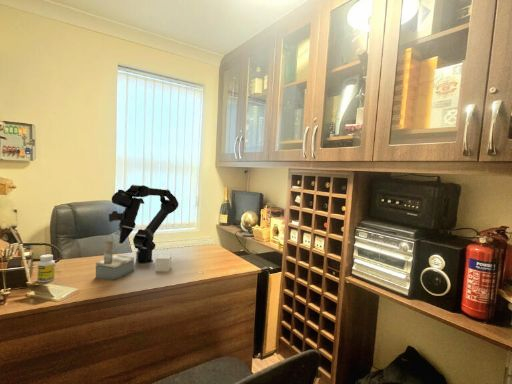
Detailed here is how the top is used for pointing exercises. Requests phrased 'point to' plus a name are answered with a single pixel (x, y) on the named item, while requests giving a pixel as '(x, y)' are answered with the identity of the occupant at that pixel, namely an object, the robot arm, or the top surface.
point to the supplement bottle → (46, 268)
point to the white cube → (163, 263)
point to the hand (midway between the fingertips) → (120, 243)
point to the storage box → (114, 271)
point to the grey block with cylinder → (110, 260)
